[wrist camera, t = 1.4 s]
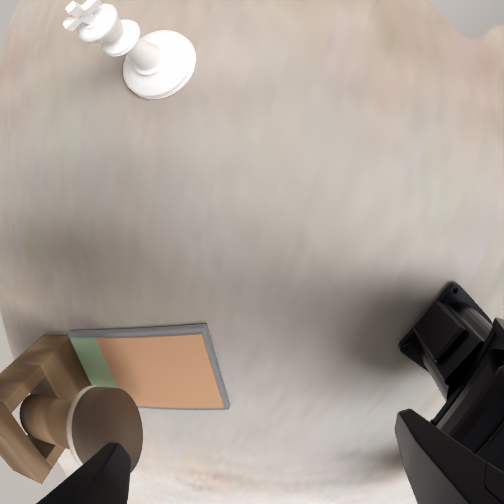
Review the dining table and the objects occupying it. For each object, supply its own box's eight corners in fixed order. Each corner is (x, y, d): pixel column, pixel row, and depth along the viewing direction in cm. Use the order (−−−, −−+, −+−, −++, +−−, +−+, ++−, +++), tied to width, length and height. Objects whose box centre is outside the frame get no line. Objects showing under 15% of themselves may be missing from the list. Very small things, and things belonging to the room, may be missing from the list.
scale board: (206, 323, 22) (204, 329, 21) (230, 404, 24) (228, 410, 23) (71, 330, 23) (66, 334, 22) (104, 400, 25) (100, 405, 25)
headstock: (71, 335, 23) (-12, 418, 12) (100, 396, 25) (41, 484, 14) (43, 335, 24) (-35, 407, 12) (72, 392, 26) (13, 470, 14)
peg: (119, 367, 18) (73, 433, 12) (151, 432, 20) (123, 496, 14) (38, 362, 20) (-7, 408, 13) (72, 420, 21) (38, 468, 15)
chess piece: (210, 68, 17) (148, -5, 7) (148, 114, 18) (46, 88, 8) (172, 19, 16) (100, -57, 6) (115, 64, 17) (16, 22, 7)
